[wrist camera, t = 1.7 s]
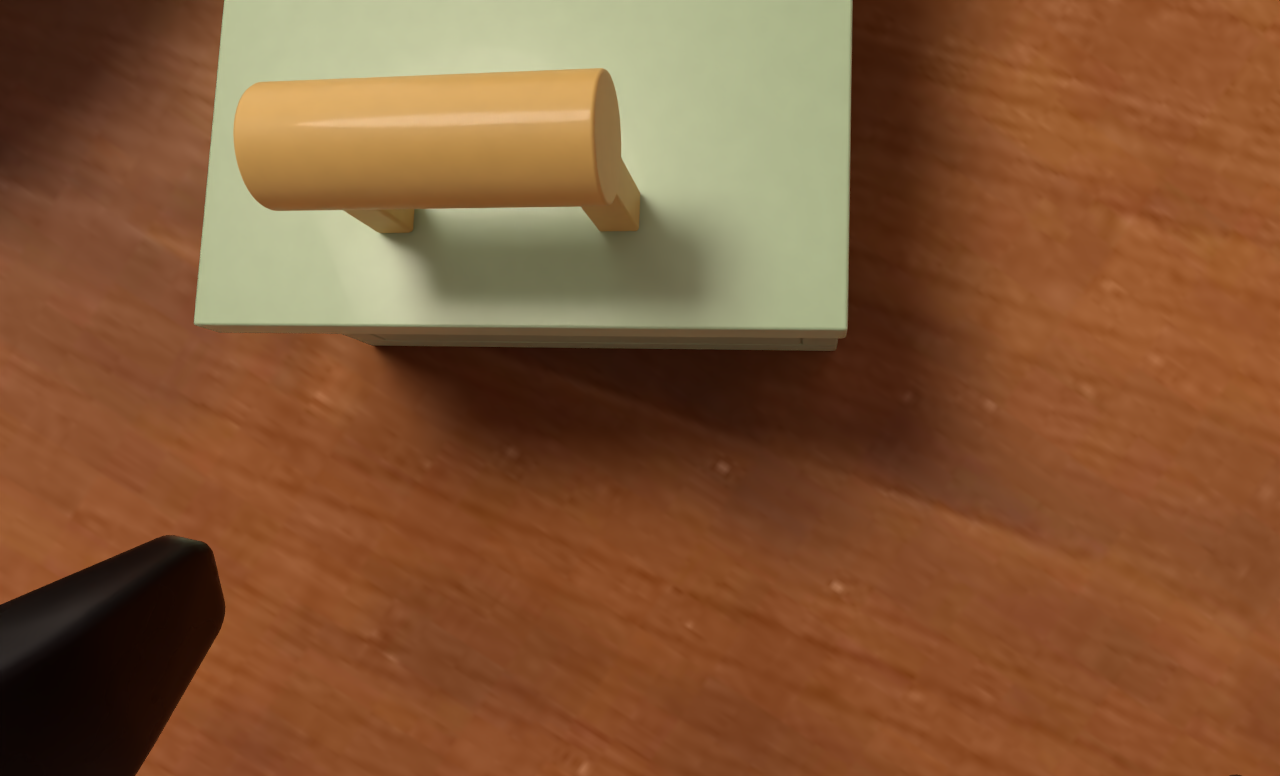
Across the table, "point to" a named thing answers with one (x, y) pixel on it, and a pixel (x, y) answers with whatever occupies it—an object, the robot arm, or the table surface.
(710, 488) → the table surface
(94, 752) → the robot arm
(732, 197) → the box lid
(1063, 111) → the table surface
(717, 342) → the green square box
